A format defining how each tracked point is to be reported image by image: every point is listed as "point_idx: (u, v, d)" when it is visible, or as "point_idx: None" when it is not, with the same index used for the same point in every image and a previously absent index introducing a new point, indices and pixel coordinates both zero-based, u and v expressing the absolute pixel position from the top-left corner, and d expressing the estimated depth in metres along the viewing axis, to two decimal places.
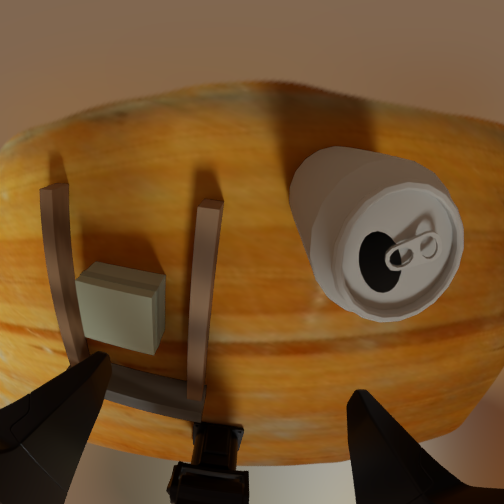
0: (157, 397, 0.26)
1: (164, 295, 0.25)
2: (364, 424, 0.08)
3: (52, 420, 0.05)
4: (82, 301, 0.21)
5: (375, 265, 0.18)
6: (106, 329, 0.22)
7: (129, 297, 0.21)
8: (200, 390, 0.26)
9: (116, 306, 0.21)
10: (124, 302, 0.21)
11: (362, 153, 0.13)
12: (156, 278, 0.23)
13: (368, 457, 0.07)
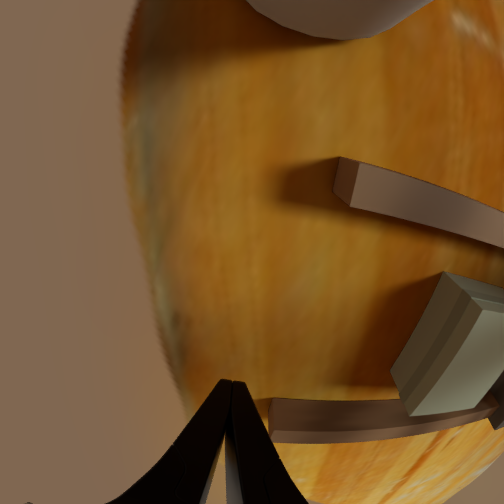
0: None
1: (467, 279, 0.13)
2: (229, 418, 0.08)
3: (211, 468, 0.06)
4: (438, 408, 0.12)
5: None
6: (483, 380, 0.11)
7: (467, 344, 0.10)
8: None
9: (468, 364, 0.11)
10: (469, 352, 0.10)
11: None
12: (446, 288, 0.12)
13: (229, 456, 0.07)
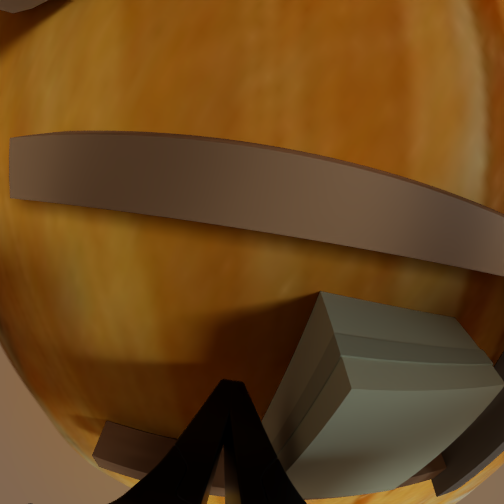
0: None
1: (377, 308, 0.09)
2: None
3: (212, 468, 0.06)
4: (314, 494, 0.08)
5: None
6: (398, 468, 0.07)
7: (330, 436, 0.06)
8: None
9: (348, 457, 0.06)
10: (342, 445, 0.06)
11: None
12: (319, 325, 0.08)
13: (227, 456, 0.07)
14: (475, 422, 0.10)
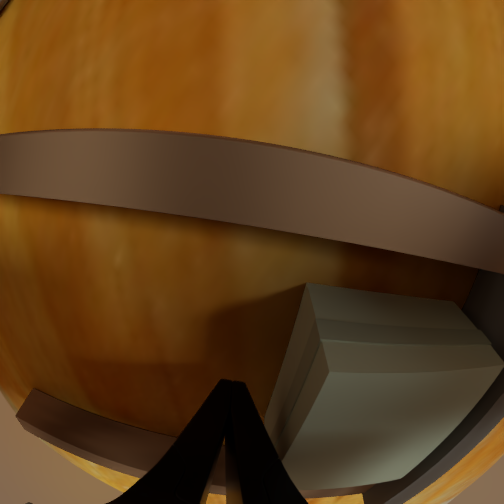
0: None
1: (365, 293, 0.09)
2: (229, 418, 0.08)
3: (211, 468, 0.06)
4: (317, 485, 0.08)
5: None
6: (401, 456, 0.07)
7: (318, 423, 0.06)
8: None
9: (343, 445, 0.07)
10: (333, 432, 0.06)
11: None
12: (305, 312, 0.08)
13: (228, 456, 0.07)
14: None
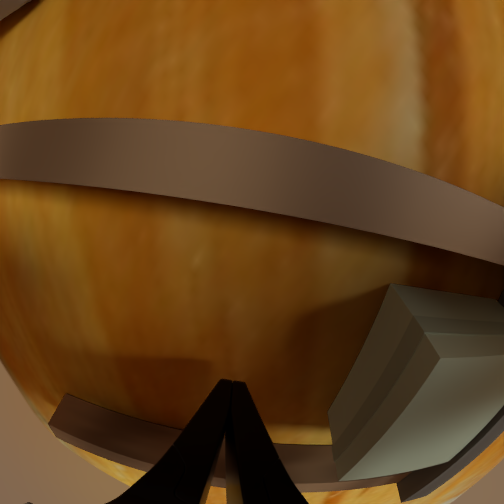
0: None
1: (435, 293, 0.09)
2: (229, 418, 0.08)
3: (211, 468, 0.06)
4: (385, 471, 0.08)
5: None
6: (457, 437, 0.07)
7: (416, 406, 0.06)
8: None
9: (424, 427, 0.07)
10: (423, 414, 0.06)
11: None
12: (392, 311, 0.08)
13: (229, 456, 0.07)
14: None
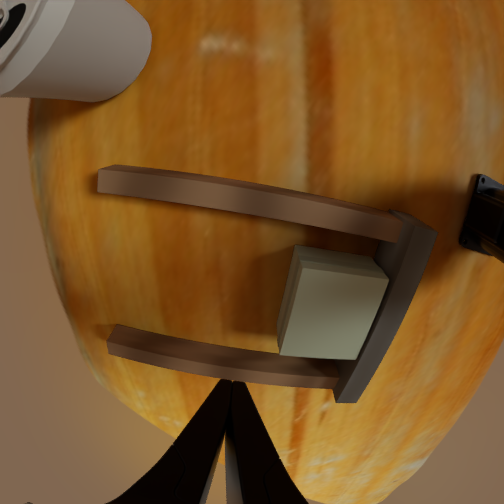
0: (386, 287, 0.18)
1: (321, 249, 0.21)
2: (229, 418, 0.08)
3: (211, 468, 0.06)
4: (307, 352, 0.20)
5: (122, 0, 0.10)
6: (347, 332, 0.19)
7: (301, 295, 0.18)
8: (379, 218, 0.17)
9: (314, 313, 0.19)
10: (308, 302, 0.18)
11: None
12: (294, 256, 0.20)
13: (229, 456, 0.07)
14: None
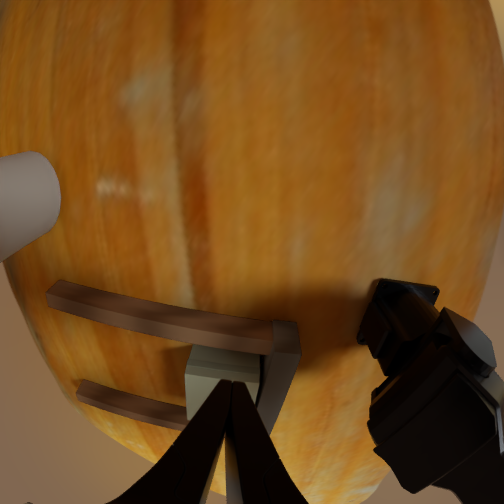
0: (262, 385, 0.23)
1: (213, 349, 0.25)
2: (229, 418, 0.08)
3: (211, 468, 0.06)
4: None
5: (18, 181, 0.14)
6: None
7: (189, 388, 0.22)
8: (248, 339, 0.21)
9: (203, 399, 0.23)
10: (196, 393, 0.22)
11: None
12: None
13: (229, 456, 0.07)
14: None
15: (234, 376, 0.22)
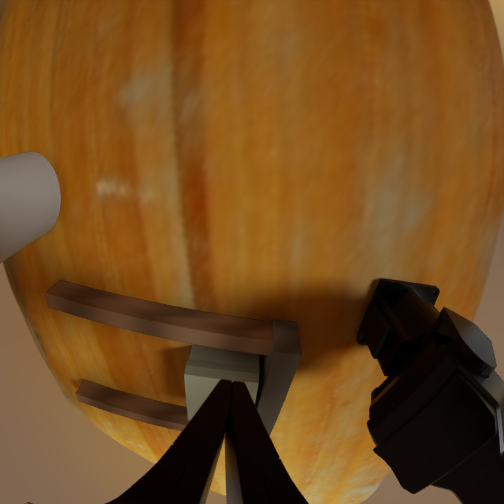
0: (262, 385, 0.23)
1: (213, 349, 0.25)
2: (229, 418, 0.08)
3: (211, 468, 0.06)
4: None
5: (18, 182, 0.14)
6: None
7: (189, 389, 0.22)
8: (248, 339, 0.21)
9: (203, 399, 0.23)
10: (196, 393, 0.23)
11: None
12: None
13: (229, 456, 0.07)
14: None
15: (233, 376, 0.22)
